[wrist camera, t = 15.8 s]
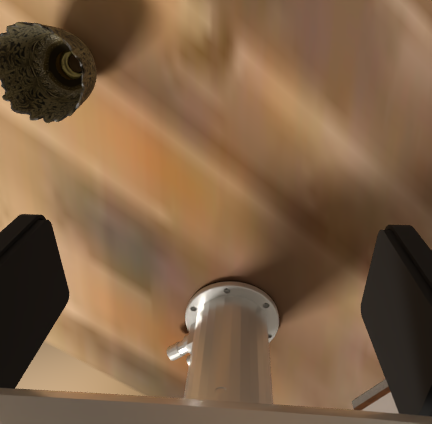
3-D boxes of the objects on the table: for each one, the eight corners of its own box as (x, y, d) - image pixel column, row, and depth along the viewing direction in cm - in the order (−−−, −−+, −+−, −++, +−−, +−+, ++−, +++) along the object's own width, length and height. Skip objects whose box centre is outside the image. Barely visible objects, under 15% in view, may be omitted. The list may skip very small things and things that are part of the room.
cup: (26, 28, 34) (-31, 32, 27) (99, 12, 33) (60, 12, 26) (56, 108, 38) (13, 130, 31) (124, 95, 36) (95, 115, 30)
